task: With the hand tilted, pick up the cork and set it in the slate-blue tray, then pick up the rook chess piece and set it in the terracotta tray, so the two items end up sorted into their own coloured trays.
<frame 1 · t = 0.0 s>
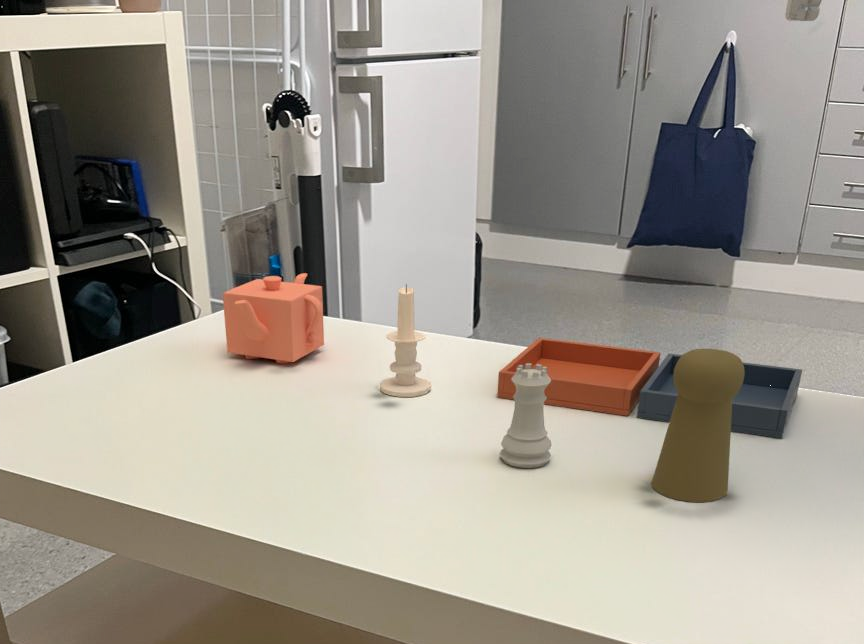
hand: (842, 22, 69), 32 cm above the table, tool pointing down, fingers open, 8 cm apart
rook chess piece: (524, 461, 88), on the table
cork: (688, 489, 83), on the table
slate tray: (718, 405, 99), on the table
teapot: (276, 356, 114), on the table
terracotta tray: (579, 386, 104), on the table
candle: (405, 390, 104), on the table
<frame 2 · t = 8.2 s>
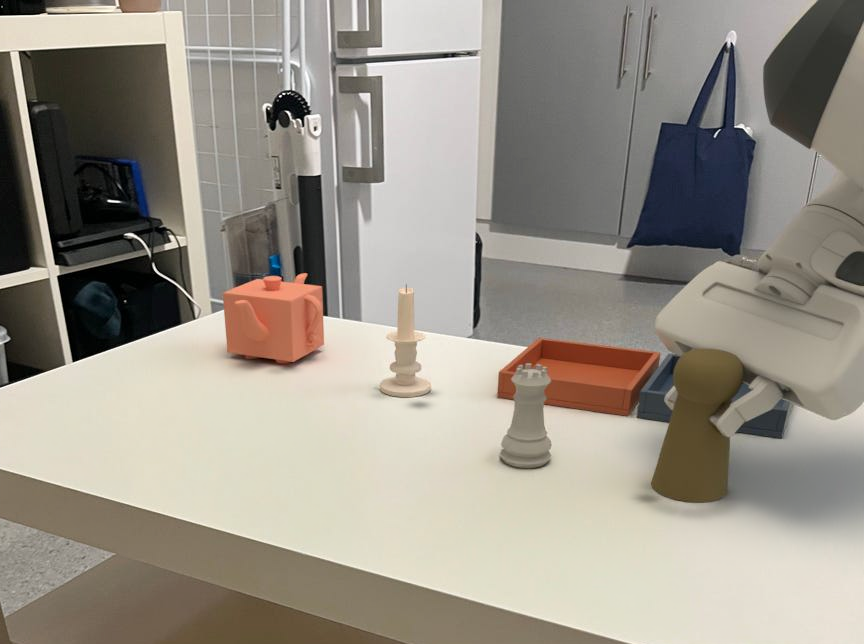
hand: (694, 419, 79), 6 cm above the table, tool tilted 45°, fingers closed on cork, 4 cm apart
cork: (688, 489, 83), on the table, touching gripper
everything else where it was.
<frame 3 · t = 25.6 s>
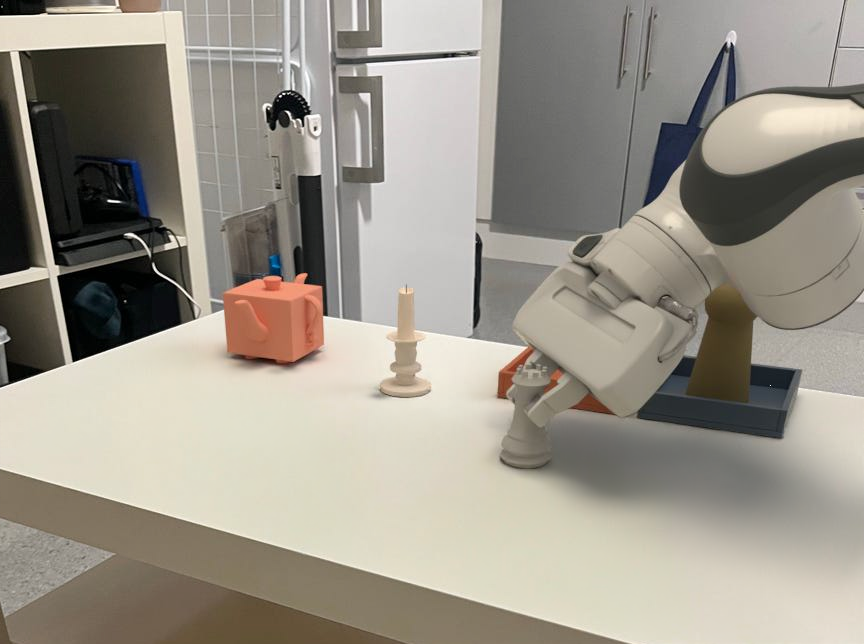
hand: (521, 411, 85), 4 cm above the table, tool tilted 45°, fingers closed on rook chess piece, 3 cm apart
rook chess piece: (524, 461, 88), on the table, touching gripper
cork: (716, 400, 99), resting on slate tray
everything else where it was.
when the fingers open (5 cm above the table, at t = 34.0 s): rook chess piece stays where it is, resting on terracotta tray.
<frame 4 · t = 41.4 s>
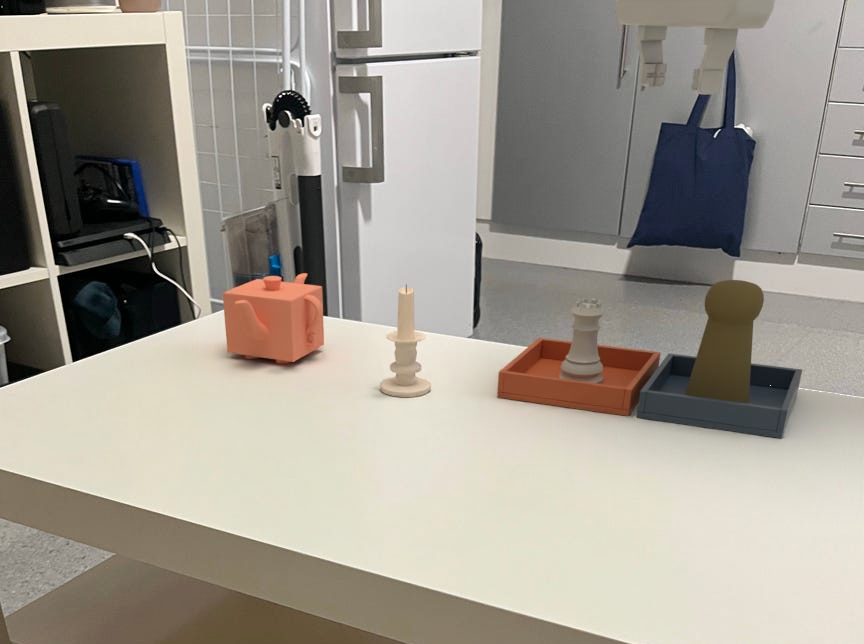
hand: (676, 89, 87), 27 cm above the table, tool pointing down, fingers open, 8 cm apart
rook chess piece: (580, 383, 104), resting on terracotta tray
everything else where it was.
at the end: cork inside the target area in the slate tray (0.5 cm from its centre), point 0.4 cm above the slate tray's base; rook chess piece inside the target area in the terracotta tray (0.2 cm from its centre), point 0.4 cm above the terracotta tray's base; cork tilted 0° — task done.
